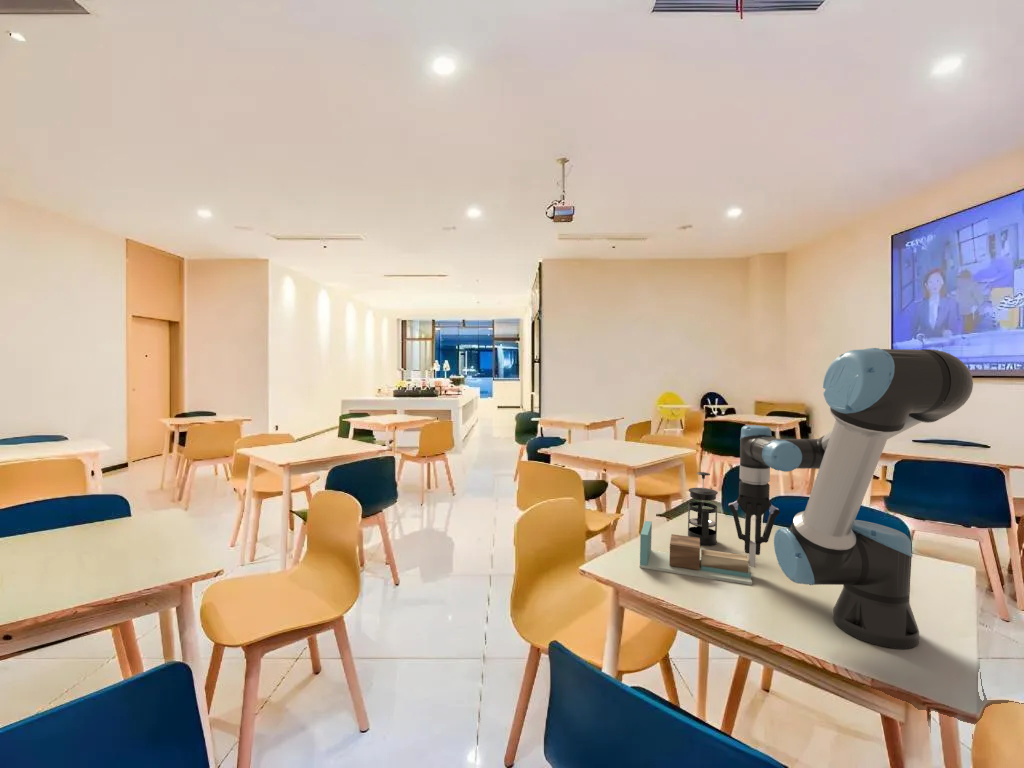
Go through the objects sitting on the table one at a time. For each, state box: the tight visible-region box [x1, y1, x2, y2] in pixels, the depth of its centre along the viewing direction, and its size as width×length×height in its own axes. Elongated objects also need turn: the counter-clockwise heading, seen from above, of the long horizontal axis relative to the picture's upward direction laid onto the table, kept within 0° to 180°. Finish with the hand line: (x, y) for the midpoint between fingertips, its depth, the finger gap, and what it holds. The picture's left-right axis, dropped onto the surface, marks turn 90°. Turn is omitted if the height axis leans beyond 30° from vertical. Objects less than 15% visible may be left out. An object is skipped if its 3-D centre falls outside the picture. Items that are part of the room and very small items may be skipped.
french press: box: [687, 471, 718, 547], centre depth 159 cm, size 12×9×23 cm
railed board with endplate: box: [639, 520, 753, 586], centre depth 138 cm, size 13×29×10 cm, turn 69°
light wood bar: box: [700, 548, 749, 573], centre depth 135 cm, size 4×12×4 cm, turn 69°
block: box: [669, 533, 701, 570], centre depth 139 cm, size 9×8×6 cm
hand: (751, 565), depth 133 cm, fingers closed
